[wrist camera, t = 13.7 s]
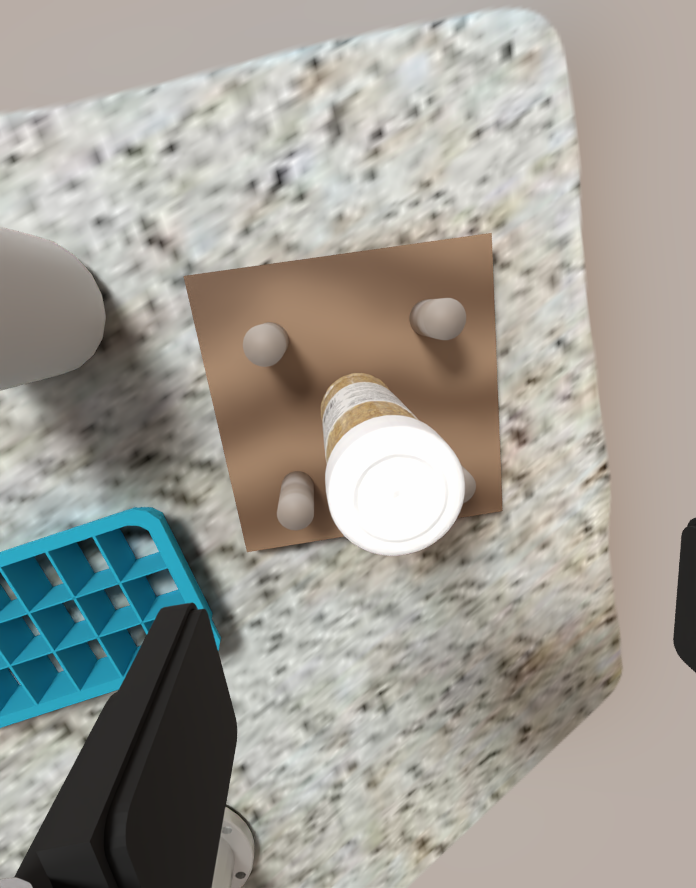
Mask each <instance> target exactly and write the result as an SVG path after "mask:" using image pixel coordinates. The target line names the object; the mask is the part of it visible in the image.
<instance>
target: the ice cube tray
mask: <svg viewBox="0 0 696 888" xmlns="http://www.w3.org/2000/svg"><path fill="white" fill-rule="evenodd" d="M127 525H130V526H140V527H142V528H144V529H146V530H148V531H149V533H150V535H151V537H152V539H153V541H154V542H155V544H156V546H157V548H158V550H159V552H158V553H155V554H152V555H148V556H145V557H142V558H139V559H136V558H135V556H134V554H133V552H132V550H131V548H130V546H129V544H128V543H127V541H126V539H125V537H124V535H123V533H122V531H121V530H120V528H121V527H124V526H127ZM91 537H93V539H94V541H95V543H96V545H97V546H98V548H99V550H100V552H101V554H102V555H103V557H104V559H105V561H106V562H107V564H108V566H109V569H106V570H103V571H100V572H97V573H94V571H93V570H92V568H91V566H90V564H89V563H88V561H87V559H86V557H85V556H84V554H83V552H82V550H81V549H80V547H79V545H78V543H77V542H78V541H82V540H85V539H88V538H91ZM42 553H46V555H47V557H48V558H49V560H50V562H51V563H52V565H53V567H54V568H55V570H56V572H57V573H58V575H59V577H60V578H61V580H62V582H63V584H60V585H57V586H54V587H53V586H52V585H51V583H50V581H49V580H48V578H47V577H46V575H45V573H44V572H43V570H42V568H41V567H40V565H39V564H38V562H37V560H36V559H35V557H34V556H36V555H39V554H42ZM167 568H168V570H169V572H170V574H171V576H172V578H173V580H174V581H175V583H176V585H177V587H178V590H175V591H172V592H169V593H166V594H163V595H160V596H157V597H156V595H155V593H154V591H153V589H152V588H151V586H150V584H149V582H148V580H147V578H146V576H145V575H149V574H152V573H155V572H158V571H161V570H164V569H167ZM0 572H1V574H2V575H3V577H4V578H5V580H6V582H7V583H8V585H9V586H10V588H11V589H12V591H13V592H14V594H15V595H16V597H17V599H15V600H12V601H11V599H10V598H9V596H8V595H7V593H6V592H5V590H4V589H3V587H2V586H1V584H0V728H1V727H5V726H8V725H11V724H14V723H17V722H20V721H23V720H26V719H29V718H32V717H35V716H38V715H42V714H45V713H48V712H51V711H54V710H57V709H60V708H63V707H66V706H69V705H72V704H76V703H79V702H82V701H85V700H88V699H91V698H94V697H97V696H100V695H103V694H106V693H109V692H113V691H116V690H119V688H120V686H121V684H122V682H123V681H124V679H125V677H126V675H127V673H128V671H129V669H130V667H131V665H132V663H133V661H134V659H135V657H136V655H137V653H138V651H139V649H140V647H141V646H138V647H137V646H136V644H135V643H134V641H133V639H132V638H131V636H130V634H129V632H128V631H127V628H130V627H133V626H136V625H139V624H141V625H142V627H143V629H144V631H145V632H146V634H148V632H149V630H150V628H151V626H152V624H153V622H154V620H155V618H156V616H157V614H158V612H159V611H160V609H161V608H163V607H168V606H174V605H180V604H186V603H192V602H193V603H195V605H196V606H197V608H198V609H206V611H207V613H208V615H209V619H210V623H211V627H212V630H213V634H214V638H215V642H216V645H217V649H218V651H219V646H220V641H221V637H220V635H219V633H218V631H217V629H216V627H215V625H214V623H213V621H212V615H213V613H212V611H211V609H210V607H209V605H208V603H207V601H206V599H205V597H204V595H203V593H202V591H201V589H200V587H199V585H198V583H197V581H196V579H195V577H194V575H193V573H192V571H191V569H190V567H189V565H188V563H187V561H186V559H185V557H184V555H183V553H182V551H181V549H180V547H179V545H178V543H177V541H176V539H175V537H174V535H173V533H172V531H171V529H170V527H169V525H168V523H167V521H166V519H165V517H164V515H163V513H162V512H160V511H158V510H156V509H154V508H152V507H140V508H137V507H135V508H132V509H129V510H126V511H123V512H120V513H116V514H113V515H110V516H107V517H104V518H101V519H98V520H95V521H92V522H89V523H86V524H83V525H80V526H77V527H74V528H71V529H68V530H65V531H62V532H59V533H56V534H53V535H50V536H47V537H44V538H41V539H38V540H35V541H32V542H29V543H26V544H23V545H20V546H17V547H14V548H11V549H8V550H5V551H2V552H0ZM118 584H119V586H120V588H121V589H122V591H123V593H124V595H125V597H126V598H127V600H128V602H129V604H130V605H129V606H126V607H123V608H120V609H117V610H115V608H114V606H113V604H112V603H111V601H110V599H109V597H108V596H107V594H106V592H105V590H104V589H106V588H109V587H112V586H115V585H118ZM72 599H73V600H74V602H75V603H76V605H77V607H78V608H79V610H80V612H81V613H82V615H83V617H84V618H85V620H83V621H80V622H77V623H75V622H74V621H73V619H72V617H71V616H70V614H69V612H68V611H67V609H66V608H65V606H64V604H63V602H66V601H69V600H72ZM27 614H28V616H29V617H30V619H31V620H32V622H33V623H34V625H35V626H36V628H37V629H38V631H39V633H40V634H41V635H38V636H34V635H33V633H32V632H31V630H30V628H29V627H28V625H27V624H26V622H25V621H24V619H23V618H22V616H24V615H27ZM96 638H97V640H98V642H99V643H100V645H101V646H102V648H103V650H104V651H105V653H106V655H107V656H108V657H104V658H101V659H98V660H97V658H96V656H95V655H94V653H93V652H92V650H91V648H90V647H89V645H88V643H87V641H90V640H93V639H96ZM50 653H53V654H54V656H55V657H56V659H57V660H58V662H59V663H60V665H61V667H62V668H63V670H64V671H61V672H58V671H57V670H56V668H55V667H54V665H53V664H52V662H51V661H50V659H49V658H48V656H47V654H50ZM8 667H9V668H10V670H11V671H12V673H13V674H14V675H15V677H16V678H17V680H18V681H19V683H20V684H21V685H19V684H18V683H17V681H16V680H15V678H14V677H13V676H12V674H11V673H10V671H9V670H8Z"/></svg>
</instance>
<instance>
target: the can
mask: <svg viewBox="0 0 696 888" xmlns="http://www.w3.org/2000/svg"><path fill="white" fill-rule="evenodd" d="M105 320H106V315H105V310H104V304H103V298H102V294H101V292H100V290H99V288H98V286H97V284H96V282H95V280H94V278H93V276H92V274H91V273H90V272H89V271H88V270H87V268H86V267H85V266H84V265H83V264H82V263H81V262H80V261H79V259H78V258H77V257H76V256H75V255H73V254H72V253H70V252H69V251H67V250H66V249H64V248H63V247H61V246H60V245H58V244H57V243H55V242H53V241H50V240H46V239H43V238H40V237H37V236H33V235H30V234H26V233H23V232H19V231H15V230H11V229H8V228H4V227H0V390H4V389H8V388H12V387H16V386H20V385H24V384H27V383H31V382H35V381H39V380H43V379H47V378H50V377H54V376H58V375H61V374H64V373H67V372H69V371H72V370H75V369H77V368H79V367H80V366H82V365H83V364H84V363H85V362H86V361H87V360H89V359H90V358H91V357H92V356H93V355H94V353H95V351H96V350H97V348H98V346H99V344H100V342H101V340H102V339H103V333H104V326H105Z"/></svg>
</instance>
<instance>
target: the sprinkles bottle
mask: <svg viewBox="0 0 696 888" xmlns="http://www.w3.org/2000/svg"><path fill="white" fill-rule="evenodd" d="M321 419H322V422H323V436H324V448H325V456H326V462H327V467H326V473H325V485H326V494H327V500H328V505H329V510H330V513H331V516H332V518H333V520H334V522H335V524H336V526H337V527H338V529H339V530H340V531H341V533H342V534H343V535H344V536H345V537H346V538H347V539H348V540H349V541H351V542H352V543H353V544H355V545H356V546H358V547H360V548H362V549H364V550H366V551H369V552H371V553H375V554H379V555H386V556H400V555H406V554H411V553H414V552H418V551H420V550H422V549H425V548H427V547H428V546H430V545H432V544H433V543H435V542H436V541H438V540H439V539H440V538H441V537H443V536H444V535H445V533H446V532H447V531H448V530H449V529H450V528H451V526H452V525H453V524H454V522H455V521H456V519H457V517H458V515H459V513H460V511H461V508H462V505H463V501H464V496H465V479H464V474H463V470H462V467H461V464H460V461H459V459H458V458H457V456H456V454H455V453H454V451H453V450H452V449H451V448H450V446H449V445H448V444H447V443H446V442H445V441H444V440H443V439H442V438H441V437H440V435H439V434H438V433H437V432H436V431H434V430H433V429H432V428H431V427H429V426H428V425H427V424H425V423H423V422H421V421H419V420H418V419H417V418H416V416H415V415H414V414H413V413H412V412H411V411H410V410H409V409H408V408H407V407H406V406H405V405H404V404H403V403H402V402H401V401H400V400H399V399H398V398H397V397H396V396H395V395H394V394H393V393H392V392H391V391H390V390H389V388H388V387H387V386H386V385H385V384H384V383H383V382H382V381H381V380H380V379H378V378H375V377H374V376H372V375H369V374H365V373H352V374H349V375H346V376H343V377H341V378H339V379H338V380H336V381H335V382H334V383H333V384H332V385H331V386H330V387H329V388H328V389H327V391H326V393H325V395H324V397H323V400H322V403H321Z"/></svg>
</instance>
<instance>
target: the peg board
mask: <svg viewBox="0 0 696 888" xmlns="http://www.w3.org/2000/svg"><path fill="white" fill-rule="evenodd" d="M184 280H185V284H186V289H187V293H188V297H189V302H190V306H191V310H192V315H193V319H194V324H195V328H196V332H197V337H198V341H199V345H200V350H201V354H202V358H203V363H204V367H205V371H206V376H207V380H208V384H209V389H210V393H211V397H212V402H213V406H214V410H215V415H216V419H217V423H218V428H219V432H220V436H221V441H222V445H223V449H224V454H225V458H226V463H227V467H228V471H229V476H230V480H231V484H232V489H233V493H234V497H235V502H236V506H237V510H238V515H239V519H240V523H241V528H242V532H243V536H244V541H245V545H246V549H247V552H251V551H257V550H263V549H270V548H276V547H282V546H288V545H294V544H301V543H307V542H313V541H319V540H326V539H332V538H338V537H344V535H343V534H342V533H341V531H340V530H339V529H338V527H337V526H336V524H335V522H334V520H333V518H332V516H331V513H330V510H329V505H328V500H327V494H326V485H325V473H326V467H327V462H326V456H325V448H324V436H323V422H322V419H321V403H322V400H323V397H324V395H325V393H326V391H327V389H328V388H329V387H330V386H331V385H332V384H333V383H334V382H335V381H336V380H338V379H339V378H341V377H343V376H346V375H349V374H352V373H365V374H369V375H372V376H374V377H375V378H378V379H380V380H381V381H382V382H383V383H384V384H385V385H386V386H387V387H388V388H389V390H390V391H391V392H392V393H393V394H394V395H395V396H396V397H397V398H398V399H399V400H400V401H401V402H402V403H403V404H404V405H405V406H406V407H407V408H408V409H409V410H410V411H411V412H412V413H413V414H414V415H415V416H416V418H417V419H418V420H419V421H421V422H423V423H425V424H427V425H428V426H429V427H431V428H432V429H433V430H434V431H436V432H437V433H438V434H439V435H440V437H441V438H442V439H443V440H444V441H445V442H446V443H447V444H448V445H449V446H450V448H451V449H452V450H453V451H454V453H455V454H456V456H457V458H458V459H459V461H460V464H461V467H462V470H463V474H464V479H465V496H464V501H463V505H462V508H461V511H460V513H459V515H458V517H457V518H462V517H468V516H475V515H481V514H487V513H493V512H500V511H502V487H501V462H500V436H499V411H498V385H497V360H496V334H495V309H494V284H493V258H492V233H488V234H481V235H474V236H467V237H460V238H452V239H445V240H438V241H431V242H424V243H417V244H410V245H402V246H395V247H388V248H381V249H374V250H367V251H360V252H352V253H345V254H338V255H331V256H324V257H317V258H310V259H302V260H295V261H288V262H281V263H274V264H267V265H260V266H252V267H245V268H238V269H231V270H224V271H217V272H209V273H202V274H195V275H188V276H184Z"/></svg>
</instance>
